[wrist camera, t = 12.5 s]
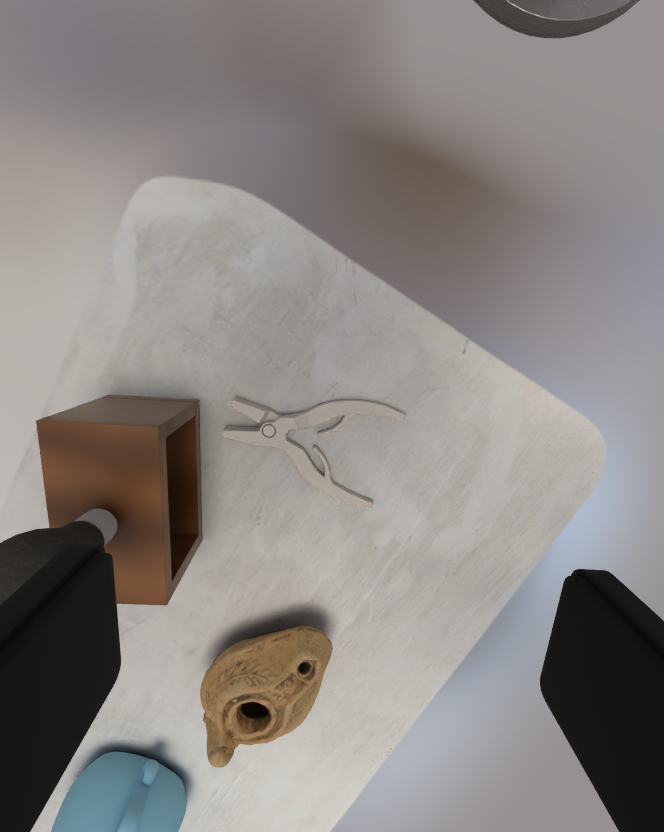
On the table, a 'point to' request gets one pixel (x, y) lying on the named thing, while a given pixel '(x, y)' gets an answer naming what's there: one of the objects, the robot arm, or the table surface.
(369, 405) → the pliers
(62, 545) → the light bulb
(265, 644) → the oil lamp
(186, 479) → the shelf
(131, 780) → the teapot
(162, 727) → the table surface
